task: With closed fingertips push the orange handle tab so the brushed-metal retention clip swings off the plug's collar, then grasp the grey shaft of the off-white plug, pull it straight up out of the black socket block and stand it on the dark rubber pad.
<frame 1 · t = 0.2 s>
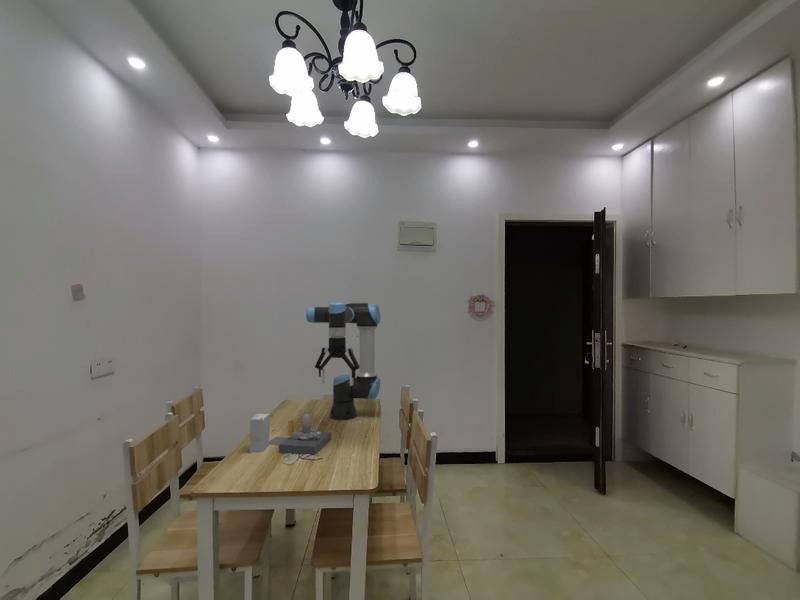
hand: (337, 384, 177), 28 cm above the table, fingers open, 13 cm apart
socket block: (306, 446, 177), on the table
plug: (306, 445, 177), resting on socket block
clip: (305, 427, 176), point 9 cm above the table, hinge at 0.0°
pad: (280, 442, 183), on the table
skincare box: (259, 450, 173), on the table
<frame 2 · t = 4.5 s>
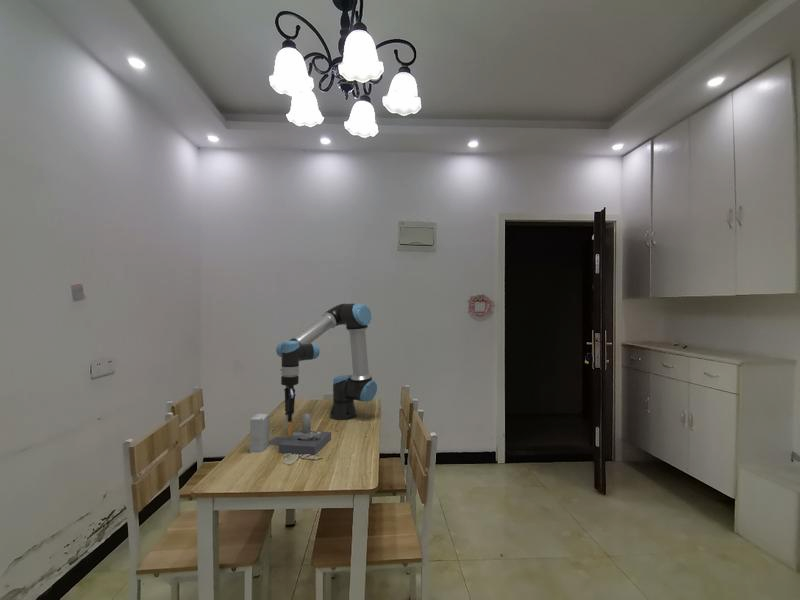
hand: (289, 428, 177), 8 cm above the table, fingers closed
clip: (305, 427, 176), point 9 cm above the table, hinge at 2.8°, touching gripper
everything else where it was.
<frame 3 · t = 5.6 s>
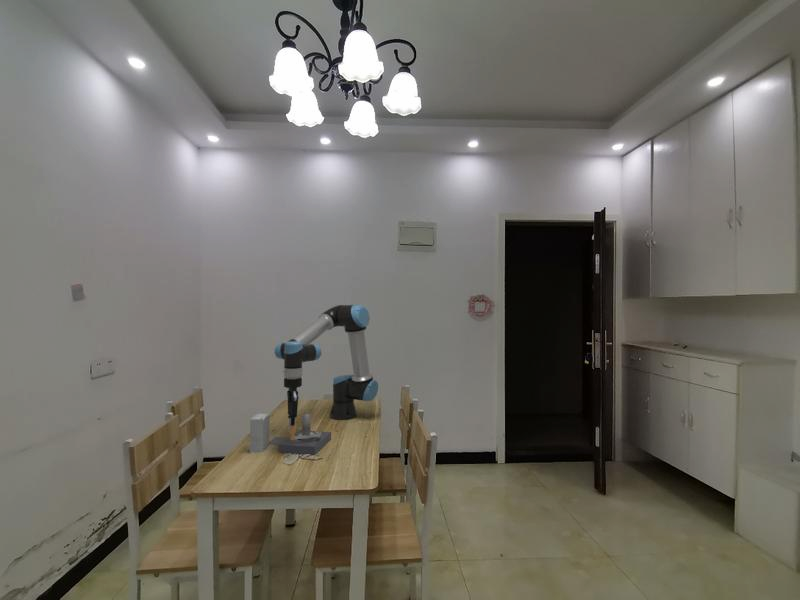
hand: (292, 432, 172), 8 cm above the table, fingers closed
clip: (306, 429, 173), point 9 cm above the table, hinge at 32.8°, touching gripper
everything else where it was.
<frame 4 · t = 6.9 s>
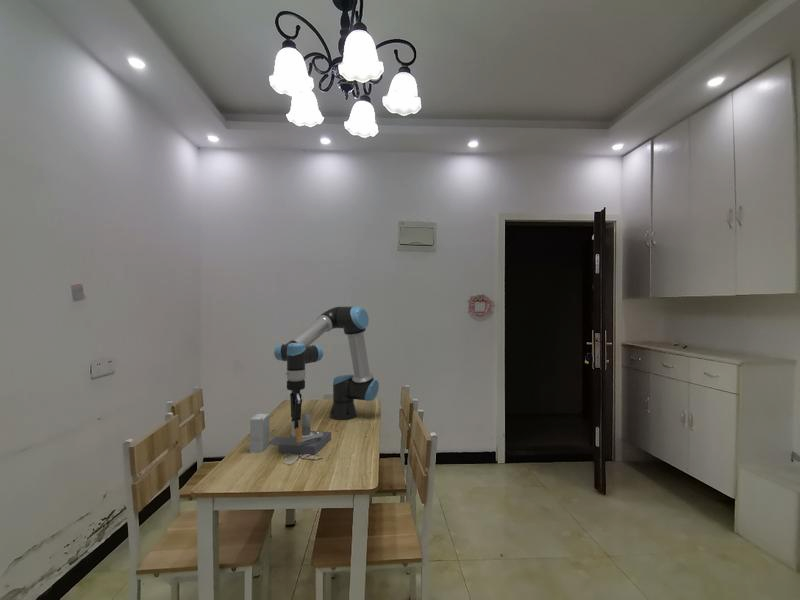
hand: (295, 435, 168), 8 cm above the table, fingers closed
clip: (309, 430, 171), point 9 cm above the table, hinge at 56.8°, touching gripper
everything else where it was.
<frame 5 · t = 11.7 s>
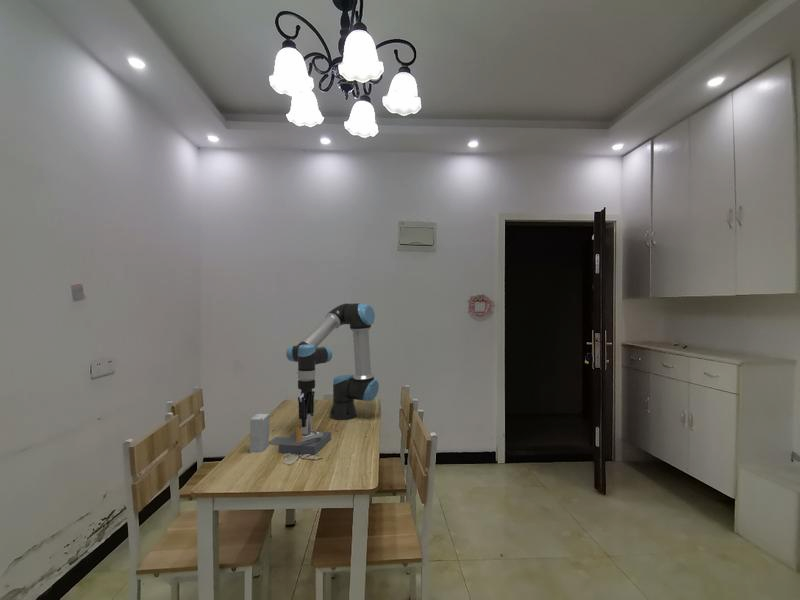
hand: (306, 432, 177), 7 cm above the table, fingers closed on plug, 3 cm apart
plug: (306, 445, 177), point 1 cm above the table, touching gripper, socket block
clip: (309, 430, 171), point 9 cm above the table, hinge at 57.1°
everything else where it was.
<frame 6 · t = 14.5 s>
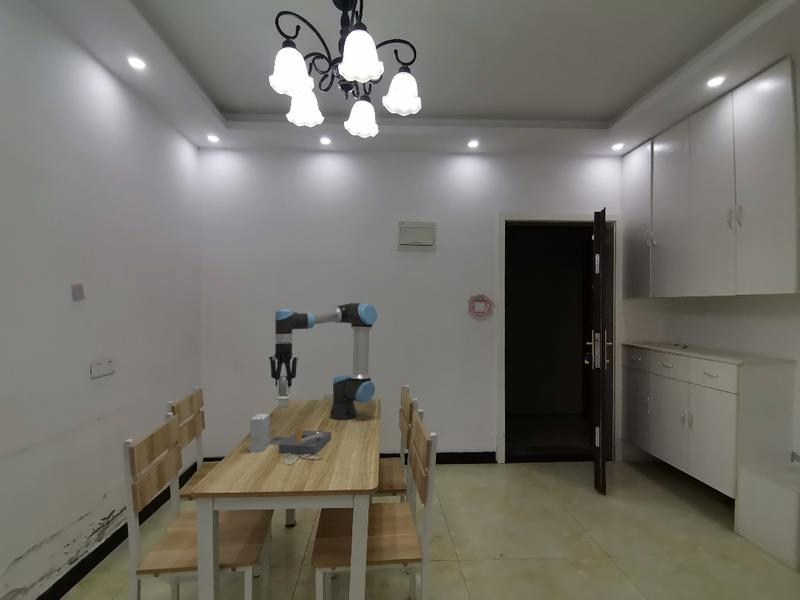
hand: (283, 393, 183), 23 cm above the table, fingers closed on plug, 3 cm apart
plug: (283, 406, 183), point 16 cm above the table, touching gripper
everything else where it was.
when the fingers open (8 cm above the table, at t = 17.5 s): plug drops 2 cm, resting on pad.
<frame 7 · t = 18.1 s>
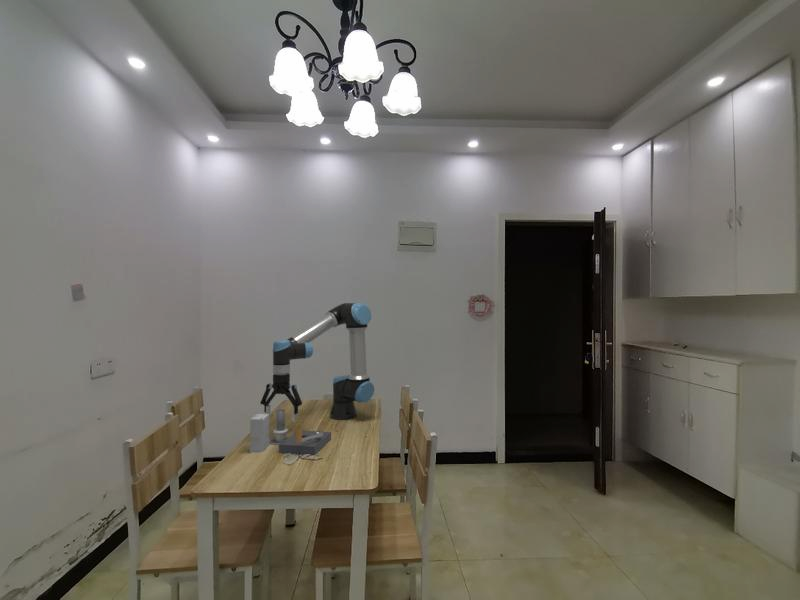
hand: (281, 420, 183), 10 cm above the table, fingers open, 12 cm apart
plug: (280, 440, 183), point 1 cm above the table, touching pad
everything else where it was.
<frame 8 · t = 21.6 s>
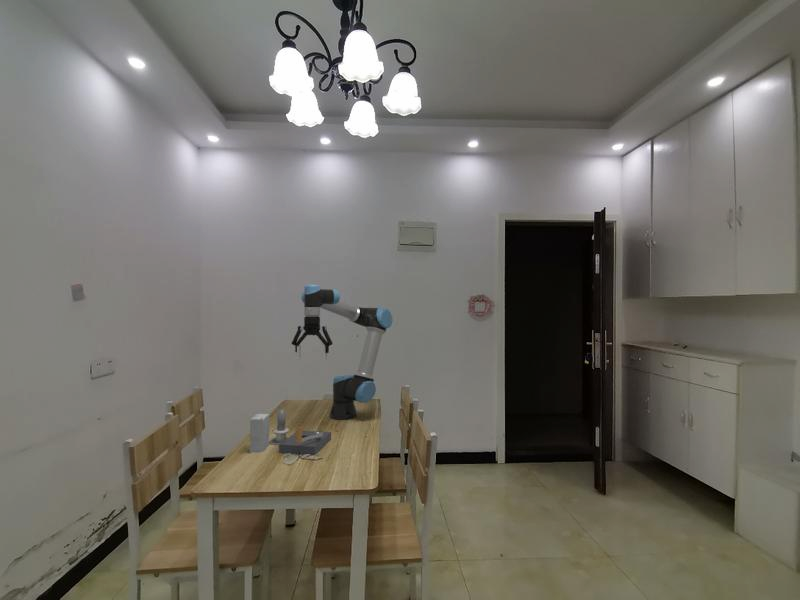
hand: (311, 359, 194), 37 cm above the table, fingers open, 13 cm apart
nothing on the table moved.
at the end: clip at +57° (first picture: +0°); plug inside the target area on the pad (0.0 cm from its centre), point 0.6 cm above the pad's base; plug tilted 1° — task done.
